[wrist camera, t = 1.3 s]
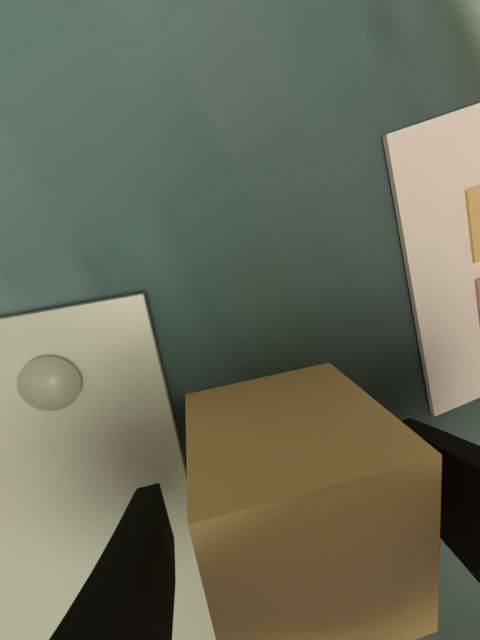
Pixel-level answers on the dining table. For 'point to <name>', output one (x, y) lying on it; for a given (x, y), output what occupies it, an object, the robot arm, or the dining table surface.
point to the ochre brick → (311, 511)
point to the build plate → (84, 458)
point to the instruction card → (441, 247)
